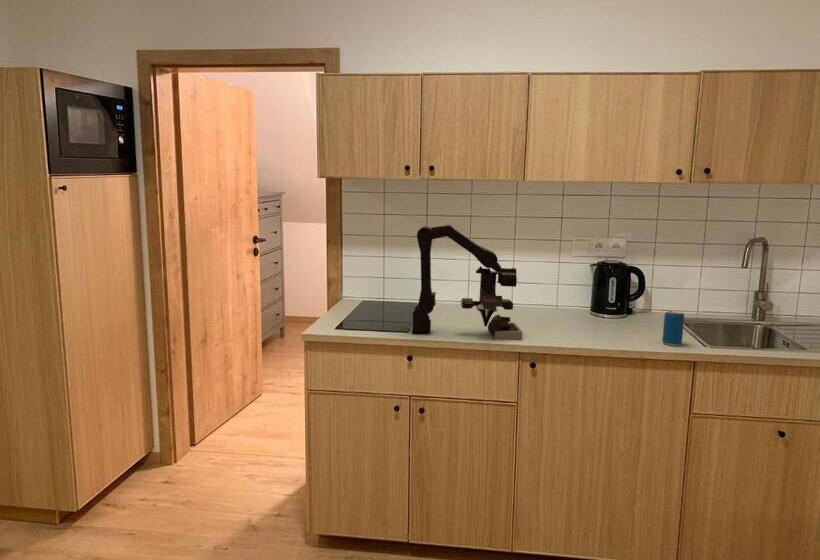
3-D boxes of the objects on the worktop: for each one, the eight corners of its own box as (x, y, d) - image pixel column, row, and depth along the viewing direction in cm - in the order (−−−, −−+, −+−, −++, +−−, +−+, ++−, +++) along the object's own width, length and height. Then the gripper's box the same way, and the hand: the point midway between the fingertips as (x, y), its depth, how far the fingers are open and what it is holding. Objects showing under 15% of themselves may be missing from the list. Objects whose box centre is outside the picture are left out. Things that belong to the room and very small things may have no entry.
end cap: (491, 331, 243) (491, 313, 242) (509, 332, 241) (510, 315, 240) (487, 337, 234) (488, 319, 232) (506, 339, 232) (507, 321, 231)
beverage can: (670, 340, 234) (673, 308, 231) (685, 345, 228) (688, 312, 226) (658, 342, 231) (661, 310, 228) (673, 347, 225) (676, 314, 223)
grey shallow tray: (494, 339, 231) (495, 331, 230) (488, 329, 245) (489, 322, 244) (522, 339, 231) (522, 331, 231) (514, 330, 245) (514, 322, 245)
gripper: (465, 289, 226) (463, 331, 229) (517, 290, 227) (514, 332, 230) (461, 283, 237) (459, 323, 240) (511, 284, 238) (508, 324, 241)
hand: (485, 326), depth 238 cm, fingers closed
